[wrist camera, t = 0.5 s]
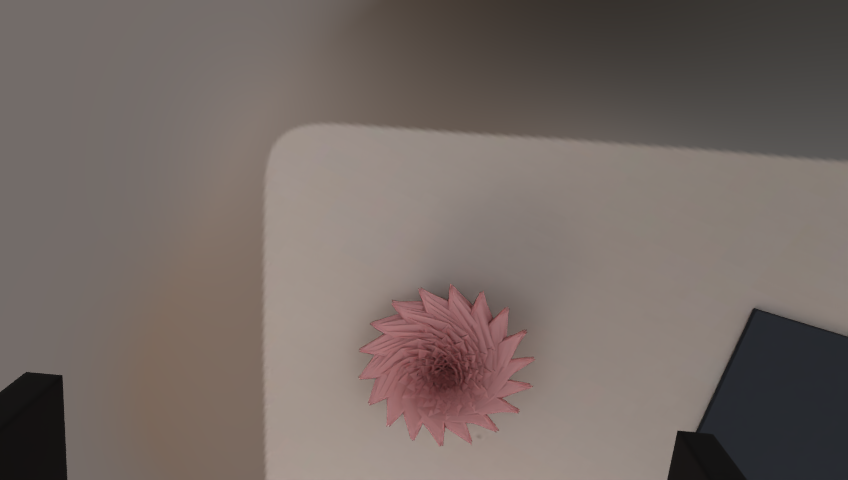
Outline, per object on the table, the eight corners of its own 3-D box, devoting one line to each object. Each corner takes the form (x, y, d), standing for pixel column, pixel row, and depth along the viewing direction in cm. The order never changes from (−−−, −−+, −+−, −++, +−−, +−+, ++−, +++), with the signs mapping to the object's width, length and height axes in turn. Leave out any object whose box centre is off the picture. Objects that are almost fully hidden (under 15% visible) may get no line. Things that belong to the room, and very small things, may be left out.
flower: (420, 230, 33) (417, 264, 28) (556, 315, 34) (579, 364, 29) (335, 357, 35) (318, 413, 29) (467, 434, 36) (473, 502, 30)
